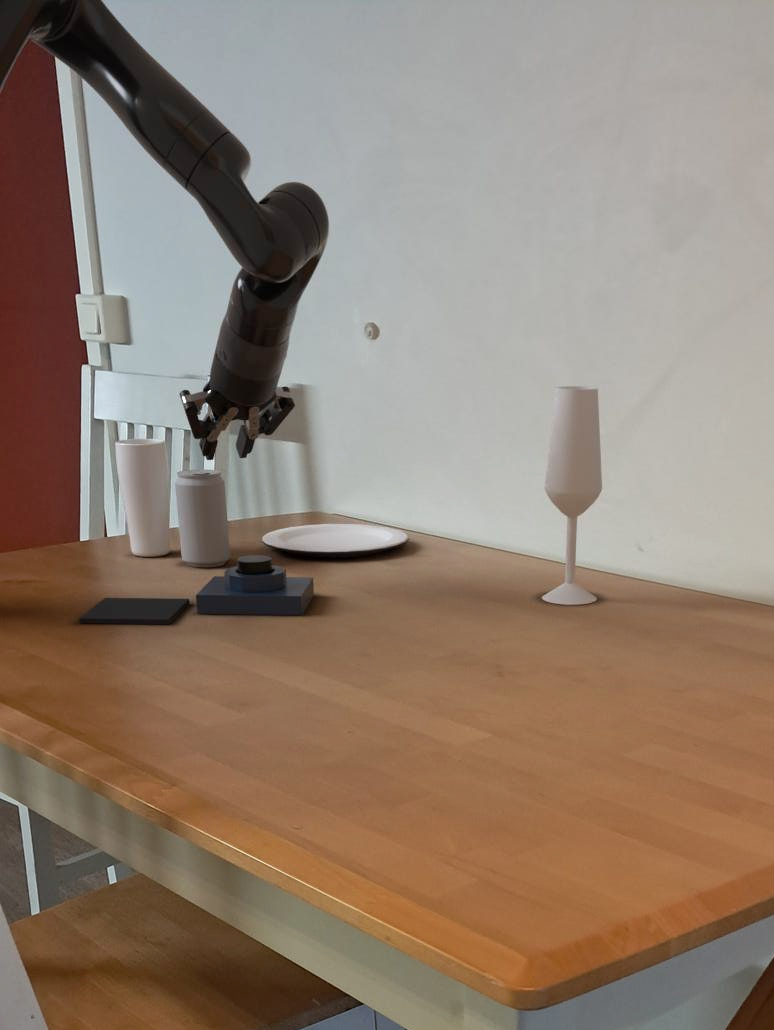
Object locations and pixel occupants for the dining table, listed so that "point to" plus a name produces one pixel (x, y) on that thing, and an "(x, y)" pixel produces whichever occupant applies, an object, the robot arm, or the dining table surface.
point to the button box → (255, 594)
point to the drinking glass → (145, 494)
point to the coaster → (135, 611)
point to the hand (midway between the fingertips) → (224, 452)
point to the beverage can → (202, 518)
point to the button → (254, 565)
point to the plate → (335, 540)
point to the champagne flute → (573, 474)
